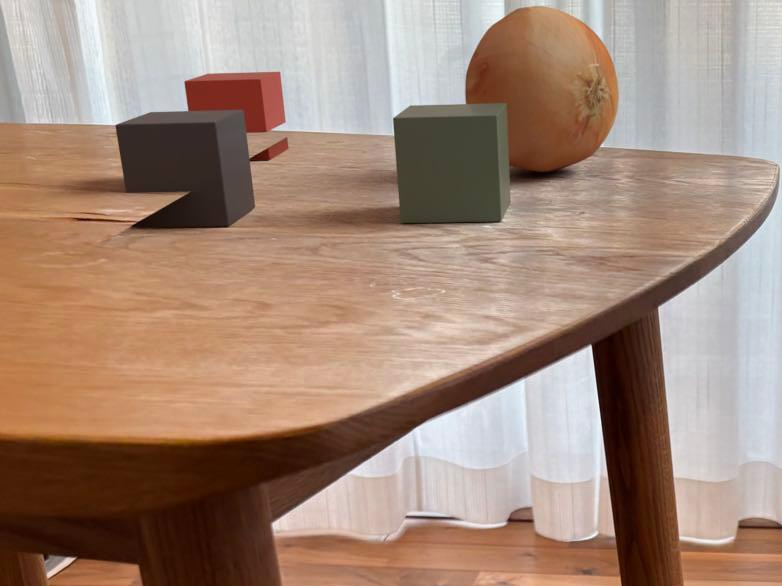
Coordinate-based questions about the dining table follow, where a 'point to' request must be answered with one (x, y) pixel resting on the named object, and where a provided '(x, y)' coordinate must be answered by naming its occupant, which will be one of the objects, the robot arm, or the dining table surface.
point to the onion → (546, 86)
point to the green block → (452, 163)
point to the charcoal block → (189, 165)
